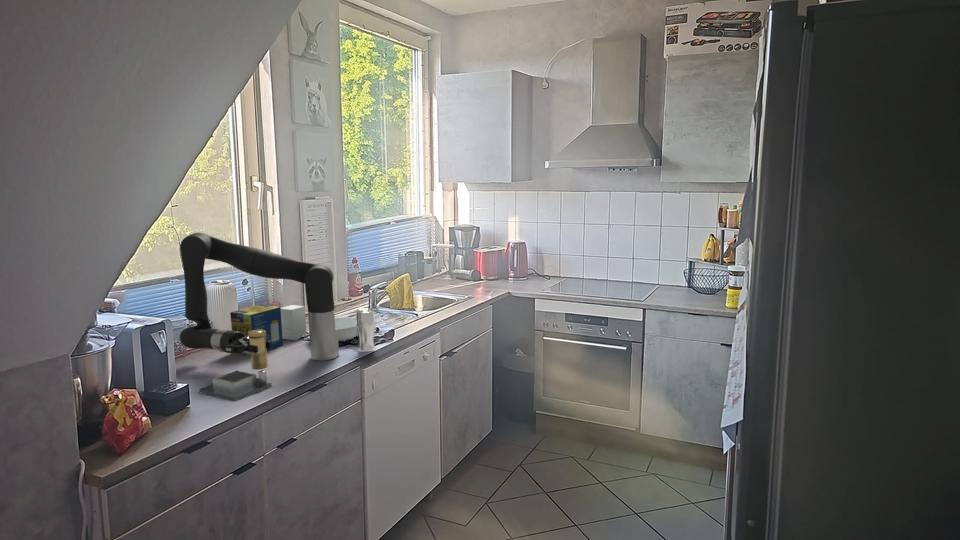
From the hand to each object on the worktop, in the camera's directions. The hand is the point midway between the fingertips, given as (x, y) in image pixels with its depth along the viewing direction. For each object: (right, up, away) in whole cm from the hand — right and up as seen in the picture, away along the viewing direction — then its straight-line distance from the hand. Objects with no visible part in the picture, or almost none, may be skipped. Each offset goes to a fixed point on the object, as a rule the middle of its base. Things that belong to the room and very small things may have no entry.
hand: (263, 347), depth 208 cm
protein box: (-14, -5, +35) cm, 38 cm away
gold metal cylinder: (-2, -7, +2) cm, 7 cm away
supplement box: (-5, -2, +51) cm, 51 cm away
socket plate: (-6, -12, -9) cm, 16 cm away
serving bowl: (+14, -3, +47) cm, 49 cm away
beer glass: (+28, -5, +31) cm, 42 cm away
